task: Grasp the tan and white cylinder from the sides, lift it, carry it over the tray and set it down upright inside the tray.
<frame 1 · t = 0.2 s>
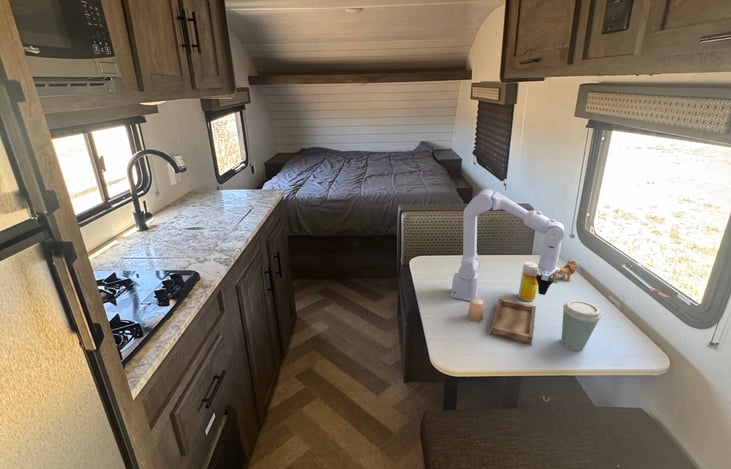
hand: (542, 289, 136), 10 cm above the table, tool pointing down, fingers open, 7 cm apart
tan and white cylinder: (475, 317, 137), on the table
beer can: (526, 298, 149), on the table
lion figurine: (559, 280, 163), on the table
disposable coffee cup: (573, 345, 123), on the table
tray: (513, 323, 134), on the table
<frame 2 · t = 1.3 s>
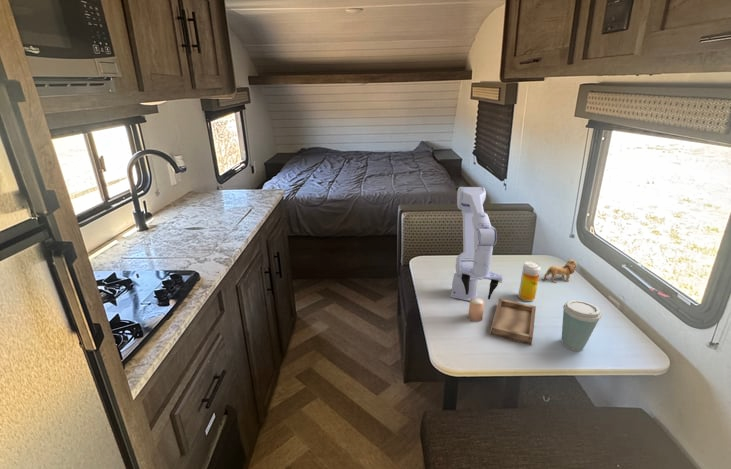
hand: (478, 295, 134), 9 cm above the table, tool pointing down, fingers open, 7 cm apart
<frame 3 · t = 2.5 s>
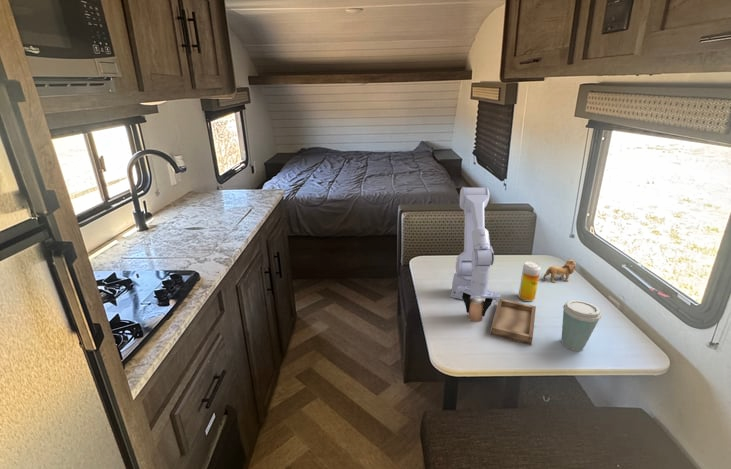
hand: (475, 313, 137), 2 cm above the table, tool pointing down, fingers closed on tan and white cylinder, 5 cm apart
tan and white cylinder: (475, 317, 137), on the table, touching gripper
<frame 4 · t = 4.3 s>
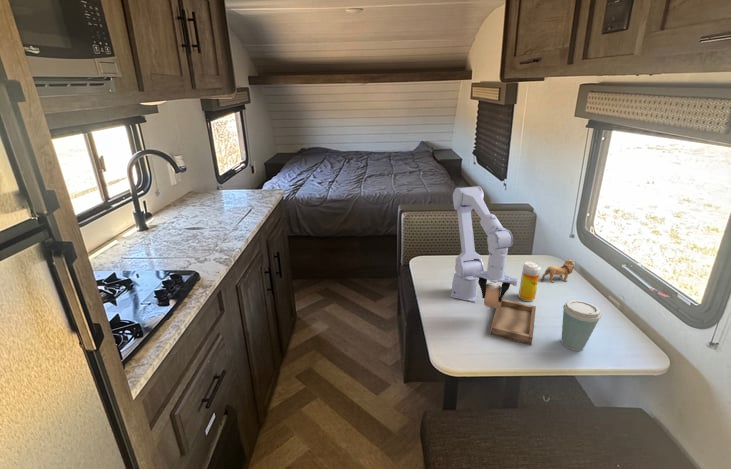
hand: (491, 298, 132), 9 cm above the table, tool pointing down, fingers closed on tan and white cylinder, 5 cm apart
tan and white cylinder: (491, 303, 133), point 7 cm above the table, touching gripper
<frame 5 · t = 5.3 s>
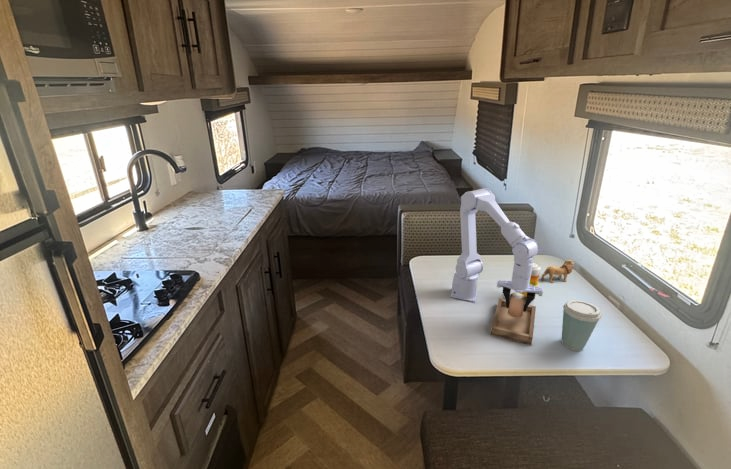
hand: (516, 308, 131), 6 cm above the table, tool pointing down, fingers closed on tan and white cylinder, 5 cm apart
tan and white cylinder: (515, 313, 132), point 4 cm above the table, touching gripper
when the fingers open (4 cm above the table, at t = 6.1 s): tan and white cylinder drops 1 cm, resting on tray.
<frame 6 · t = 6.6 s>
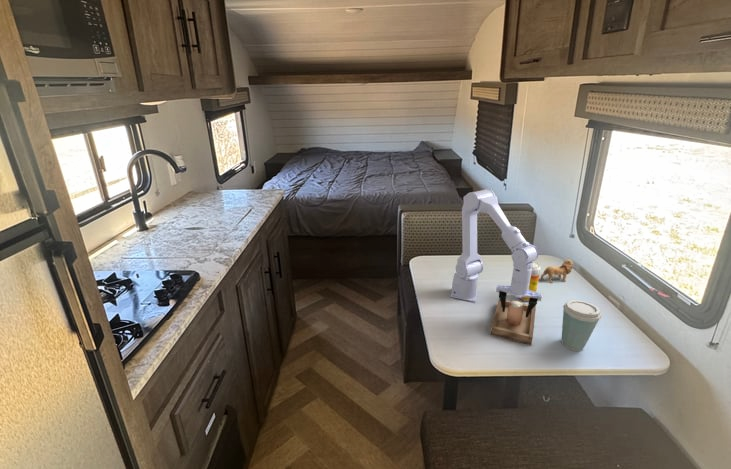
hand: (515, 313, 132), 4 cm above the table, tool pointing down, fingers open, 7 cm apart
tan and white cylinder: (513, 321, 133), point 1 cm above the table, touching tray
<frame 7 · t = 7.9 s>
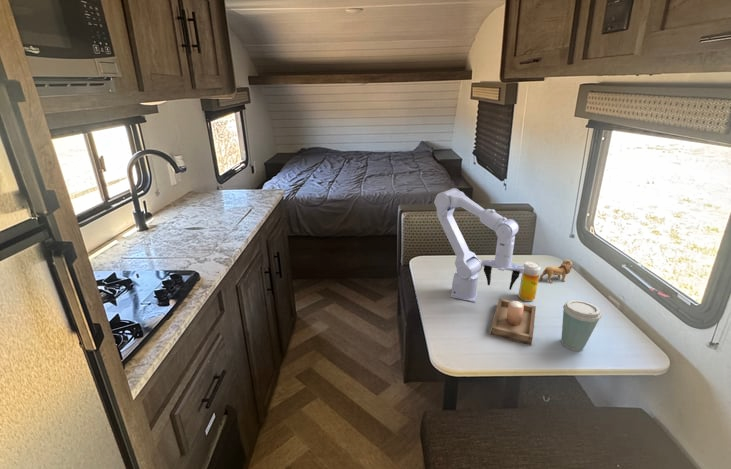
hand: (499, 286, 140), 9 cm above the table, tool pointing down, fingers open, 7 cm apart
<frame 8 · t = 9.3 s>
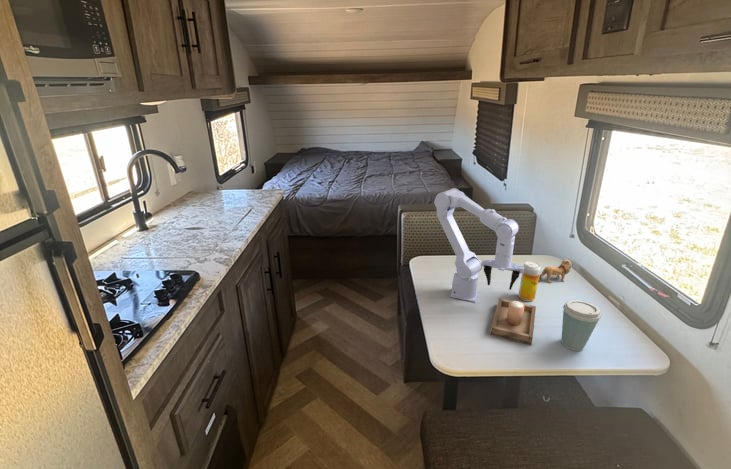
hand: (499, 286, 140), 9 cm above the table, tool pointing down, fingers open, 7 cm apart
at the end: tan and white cylinder inside the target area on the tray (0.2 cm from its centre), point 1.0 cm above the tray's base; tan and white cylinder tilted 1°; the gripper is holding nothing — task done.
